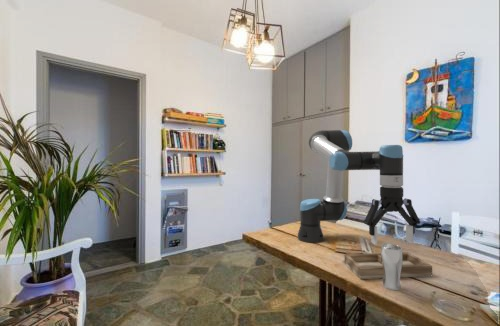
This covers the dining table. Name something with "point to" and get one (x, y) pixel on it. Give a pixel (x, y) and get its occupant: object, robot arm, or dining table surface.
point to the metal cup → (391, 265)
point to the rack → (372, 267)
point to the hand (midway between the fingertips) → (392, 243)
